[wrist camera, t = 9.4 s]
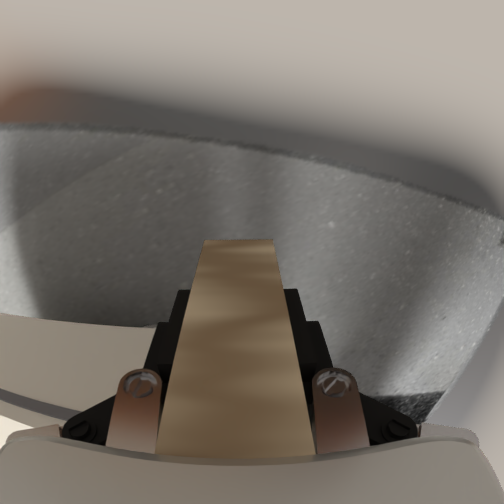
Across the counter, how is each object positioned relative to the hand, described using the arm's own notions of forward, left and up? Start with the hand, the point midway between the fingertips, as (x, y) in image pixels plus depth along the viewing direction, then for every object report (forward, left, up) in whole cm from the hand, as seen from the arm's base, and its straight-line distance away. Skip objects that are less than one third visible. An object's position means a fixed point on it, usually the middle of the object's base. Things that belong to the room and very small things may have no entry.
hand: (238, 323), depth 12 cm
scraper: (0, +7, -3) cm, 8 cm away
